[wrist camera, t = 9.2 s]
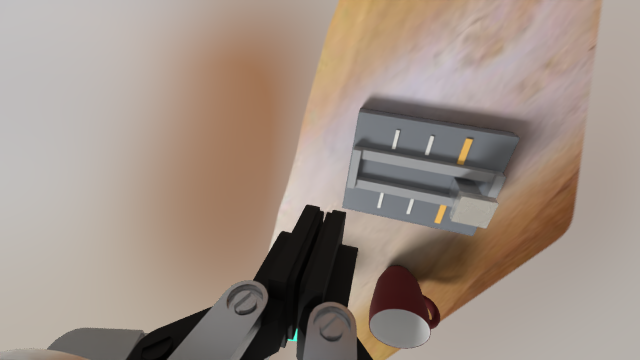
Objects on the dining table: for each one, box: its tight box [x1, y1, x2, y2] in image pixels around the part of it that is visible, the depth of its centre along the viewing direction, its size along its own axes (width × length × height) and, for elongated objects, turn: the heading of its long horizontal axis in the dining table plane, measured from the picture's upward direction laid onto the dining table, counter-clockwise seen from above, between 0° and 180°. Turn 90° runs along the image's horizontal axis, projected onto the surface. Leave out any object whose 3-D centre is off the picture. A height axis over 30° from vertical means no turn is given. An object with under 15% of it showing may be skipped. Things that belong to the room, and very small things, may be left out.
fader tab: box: [449, 178, 499, 228], centre depth 31 cm, size 3×4×6 cm
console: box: [342, 108, 520, 236], centre depth 35 cm, size 14×18×4 cm
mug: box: [369, 265, 440, 349], centre depth 41 cm, size 11×8×10 cm
